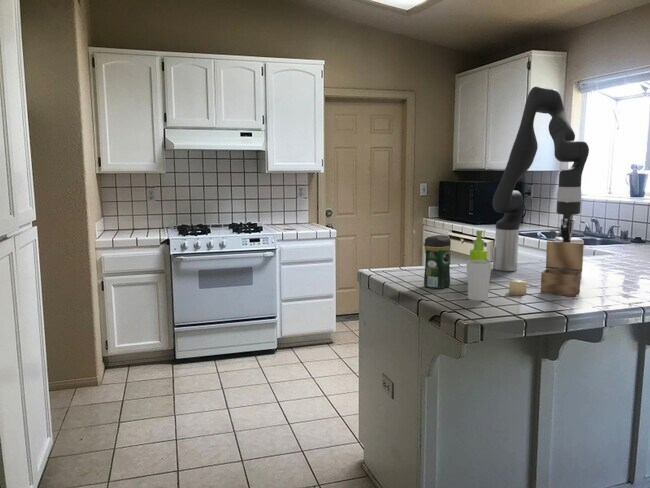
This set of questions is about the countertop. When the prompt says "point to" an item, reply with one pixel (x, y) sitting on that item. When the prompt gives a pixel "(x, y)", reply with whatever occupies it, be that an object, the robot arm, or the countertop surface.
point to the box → (560, 282)
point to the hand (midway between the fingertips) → (566, 249)
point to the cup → (478, 279)
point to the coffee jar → (437, 261)
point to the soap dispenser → (478, 248)
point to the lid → (564, 256)
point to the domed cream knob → (517, 287)
